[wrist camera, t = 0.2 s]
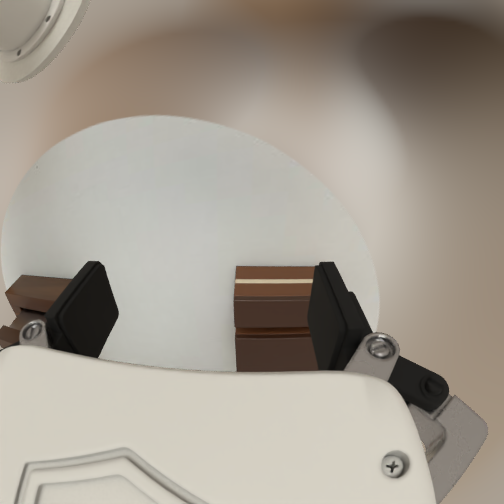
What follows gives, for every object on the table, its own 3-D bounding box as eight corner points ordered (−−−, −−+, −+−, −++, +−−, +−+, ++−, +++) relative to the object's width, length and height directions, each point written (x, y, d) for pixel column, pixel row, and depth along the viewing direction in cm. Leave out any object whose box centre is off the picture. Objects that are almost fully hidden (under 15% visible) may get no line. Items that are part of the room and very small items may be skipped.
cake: (237, 302, 32) (235, 338, 27) (319, 301, 32) (330, 336, 27) (238, 351, 36) (237, 385, 31) (308, 350, 37) (315, 383, 31)
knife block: (21, 274, 31) (4, 292, 26) (78, 279, 31) (60, 301, 26) (34, 305, 34) (20, 323, 29) (91, 313, 34) (77, 337, 29)
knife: (35, 286, 32) (-6, 336, 21) (69, 290, 32) (27, 349, 21) (39, 296, 33) (1, 347, 22) (74, 301, 33) (35, 360, 22)
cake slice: (236, 266, 30) (233, 300, 25) (325, 266, 30) (340, 299, 25) (236, 291, 31) (234, 327, 26) (321, 291, 32) (333, 325, 26)
